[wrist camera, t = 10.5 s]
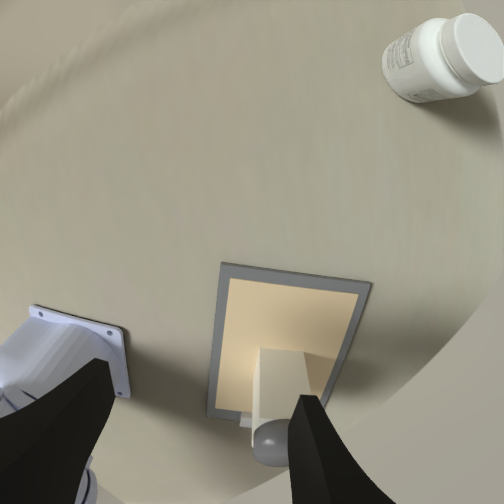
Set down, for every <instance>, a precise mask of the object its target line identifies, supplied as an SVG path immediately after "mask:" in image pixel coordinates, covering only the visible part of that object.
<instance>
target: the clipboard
mask: <svg viewBox="0 0 504 504" xmlns="http://www.w3.org/2000/svg"><path fill="white" fill-rule="evenodd" d="M370 285H371V284H370V282H367V281H359V280H351V279H343V278H335V277H327V276H320V275H312V274H305V273H297V272H290V271H282V270H275V269H268V268H260V267H253V266H246V265H239V264H232V263H225V262H221V266H220V275H219V284H218V293H217V303H216V312H215V322H214V333H213V343H212V354H211V365H210V376H209V388H208V401H207V414H206V417H211V418H218V419H225V420H234V421H240V426H239V427H248V428H252V410H253V377H254V372H255V368H256V363H257V358H258V353H259V348H260V347H262V348H271V349H281V350H292V351H303V353H304V358H305V363H306V369H307V374H308V379H309V385H310V391H311V395H317V397H318V398H319V400H320V402H321V404H322V406H323V408H324V406H325V403H326V401H327V399H328V397H329V395H330V392H331V390H332V388H333V385H334V383H335V381H336V378H337V376H338V374H339V371H340V369H341V366H342V364H343V361H344V359H345V356H346V354H347V351H348V348H349V346H350V343H351V341H352V338H353V335H354V332H355V330H356V327H357V324H358V321H359V319H360V316H361V313H362V310H363V307H364V304H365V301H366V298H367V295H368V292H369V289H370Z"/></svg>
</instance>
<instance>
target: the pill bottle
mask: <svg viewBox="0 0 504 504" xmlns="http://www.w3.org/2000/svg"><path fill="white" fill-rule="evenodd" d="M382 70H383V73H384V76H385V78H386V80H387V82H388V84H389V85H390V87H391V88H392V89H393V90H394V91H395V92H396V93H397V94H398V95H399V96H401V97H402V98H404V99H406V100H408V101H411V102H416V103H423V102H430V101H436V100H444V99H451V98H459V97H466V96H470V95H472V94H474V93H475V92H476V91H478V90H479V88H480V87H481V86H486V85H492V84H496V83H499V82H501V81H502V80H503V79H504V45H503V43H502V40H501V39H500V37H499V36H498V34H497V32H496V31H495V30H494V29H493V27H491V25H490V24H489V23H488V22H486V21H485V20H484V19H482V18H481V17H479V16H477V15H474V14H469V13H465V14H461V15H459V16H456V17H454V18H451V19H449V20H448V19H444V18H434V19H430V20H428V21H426V22H424V23H422V24H421V25H419V26H417V27H416V28H414V29H412V30H411V31H409V32H408V33H406V34H404V35H403V36H401V37H400V38H398V39H397V40H395V41H394V42H392V43H391V44H389V45H388V46H387V48H386V49H385V51H384V53H383V57H382Z"/></svg>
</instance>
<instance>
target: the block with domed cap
mask: <svg viewBox="0 0 504 504" xmlns="http://www.w3.org/2000/svg"><path fill="white" fill-rule="evenodd" d="M300 394H303V395H311V391H310V385H309V379H308V374H307V369H306V363H305V358H304V353H303V351H292V350H281V349H271V348H262V347H260V348H259V353H258V358H257V363H256V368H255V372H254V377H253V410H252V447H253V456H254V458H255V460H257V461H258V462H259V463H261V464H264V465H267V466H272V467H287V466H289V460H288V450H287V445H288V425H289V422H290V420H291V417H292V415H293V412H294V410H295V407H296V404H297V402H298V399H299V396H300Z"/></svg>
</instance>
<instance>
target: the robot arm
mask: <svg viewBox="0 0 504 504" xmlns="http://www.w3.org/2000/svg"><path fill="white" fill-rule="evenodd" d="M29 312H30V317H29V318H28V319H27V320H26V321H25V322H24V323H23V324H22V325H21V326H20V327H19V328H18V329H17V330H16V331H15V332H14V333H13V334H12V335H11V336H10V337H9V338H8V339H7V340H6V341H5V342H4V343H3V344H2V345H1V346H0V504H96V500H97V493H98V491H97V479H96V476H95V474H94V472H93V471H92V470H91V469H90V468H89V466H90V464H91V461H92V459H93V457H92V456H91V455H90V454H91V452H92V450H93V448H94V446H95V444H96V442H97V440H98V438H99V436H100V434H101V432H102V430H103V428H104V426H105V424H106V422H107V419H108V417H109V415H110V412H111V409H112V406H113V403H114V400H115V397H116V396H119V397H123V398H130V396H131V390H130V384H129V377H128V371H127V363H126V356H125V347H124V338H123V332H122V330H121V329H120V328H118V327H114V326H110V325H106V324H102V323H98V322H94V321H90V320H86V319H82V318H78V317H74V316H71V315H67V314H63V313H60V312H56V311H53V310H49V309H46V308H43V307H39V306H36V305H31V306H30V307H29ZM41 312H42V313H41ZM110 331H111V332H112V333H111V332H110ZM115 395H116V396H115ZM287 450H288V460H289V470H290V479H291V489H292V500H293V501H292V503H293V504H396V503H395V502H393V501H392V500H391V499H390V498H389V497H388V496H387V495H386V494H385V493H384V492H382V491H381V490H380V489H379V488H378V487H377V486H376V485H375V483H374V482H373V481H372V480H371V479H370V478H369V477H368V476H367V475H366V473H365V472H364V471H363V470H362V469H361V467H360V466H359V465H358V463H357V462H356V461H355V460H354V458H353V457H352V455H351V454H350V452H349V451H348V449H347V448H346V446H345V445H344V443H343V442H342V440H341V438H340V437H339V435H338V434H337V432H336V430H335V429H334V427H333V425H332V423H331V421H330V420H329V418H328V416H327V414H326V412H325V410H324V408H323V406H322V404H321V402H320V400H319V398H318V397H317V395H303V394H300V396H299V399H298V402H297V404H296V407H295V410H294V412H293V415H292V417H291V420H290V422H289V425H288V445H287Z"/></svg>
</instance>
